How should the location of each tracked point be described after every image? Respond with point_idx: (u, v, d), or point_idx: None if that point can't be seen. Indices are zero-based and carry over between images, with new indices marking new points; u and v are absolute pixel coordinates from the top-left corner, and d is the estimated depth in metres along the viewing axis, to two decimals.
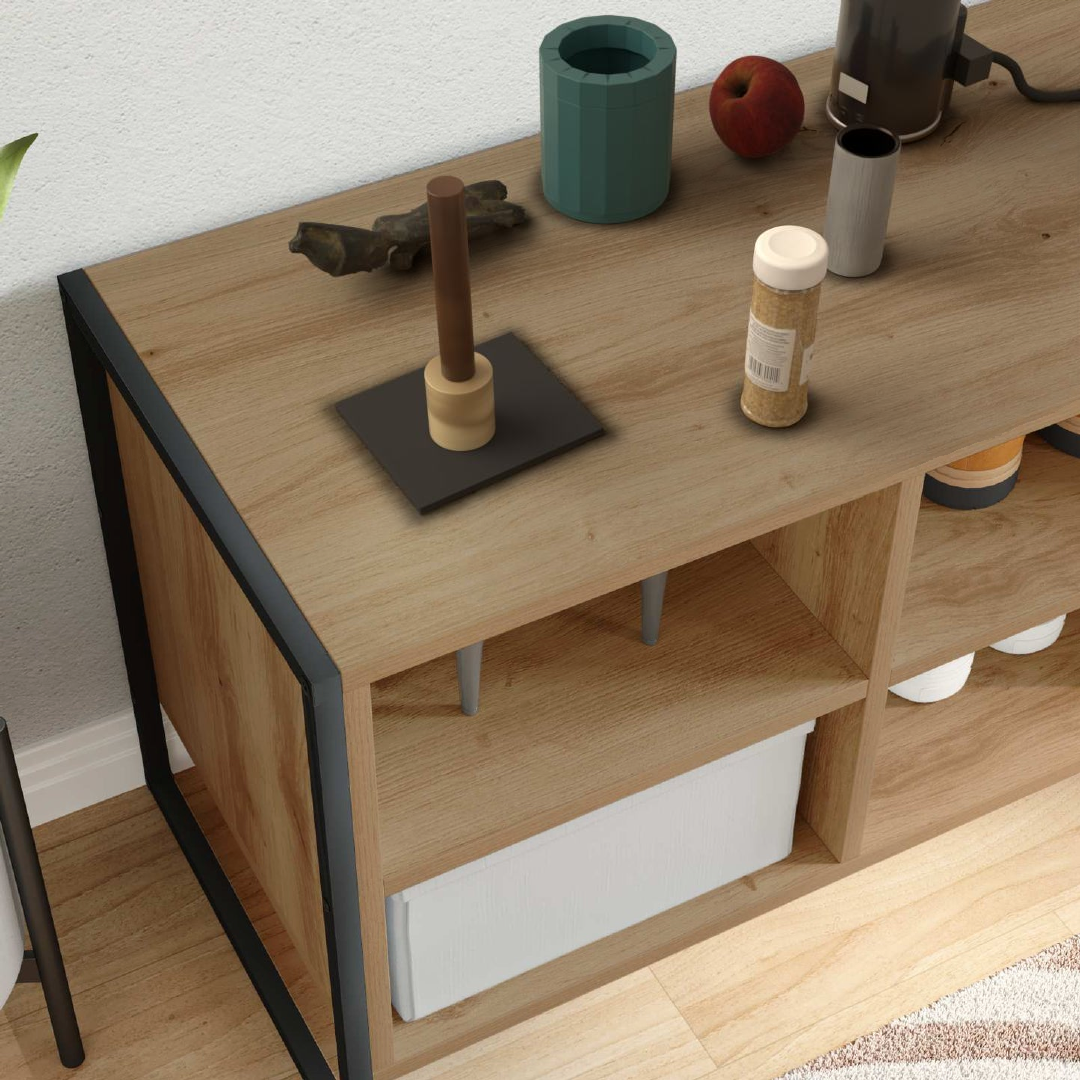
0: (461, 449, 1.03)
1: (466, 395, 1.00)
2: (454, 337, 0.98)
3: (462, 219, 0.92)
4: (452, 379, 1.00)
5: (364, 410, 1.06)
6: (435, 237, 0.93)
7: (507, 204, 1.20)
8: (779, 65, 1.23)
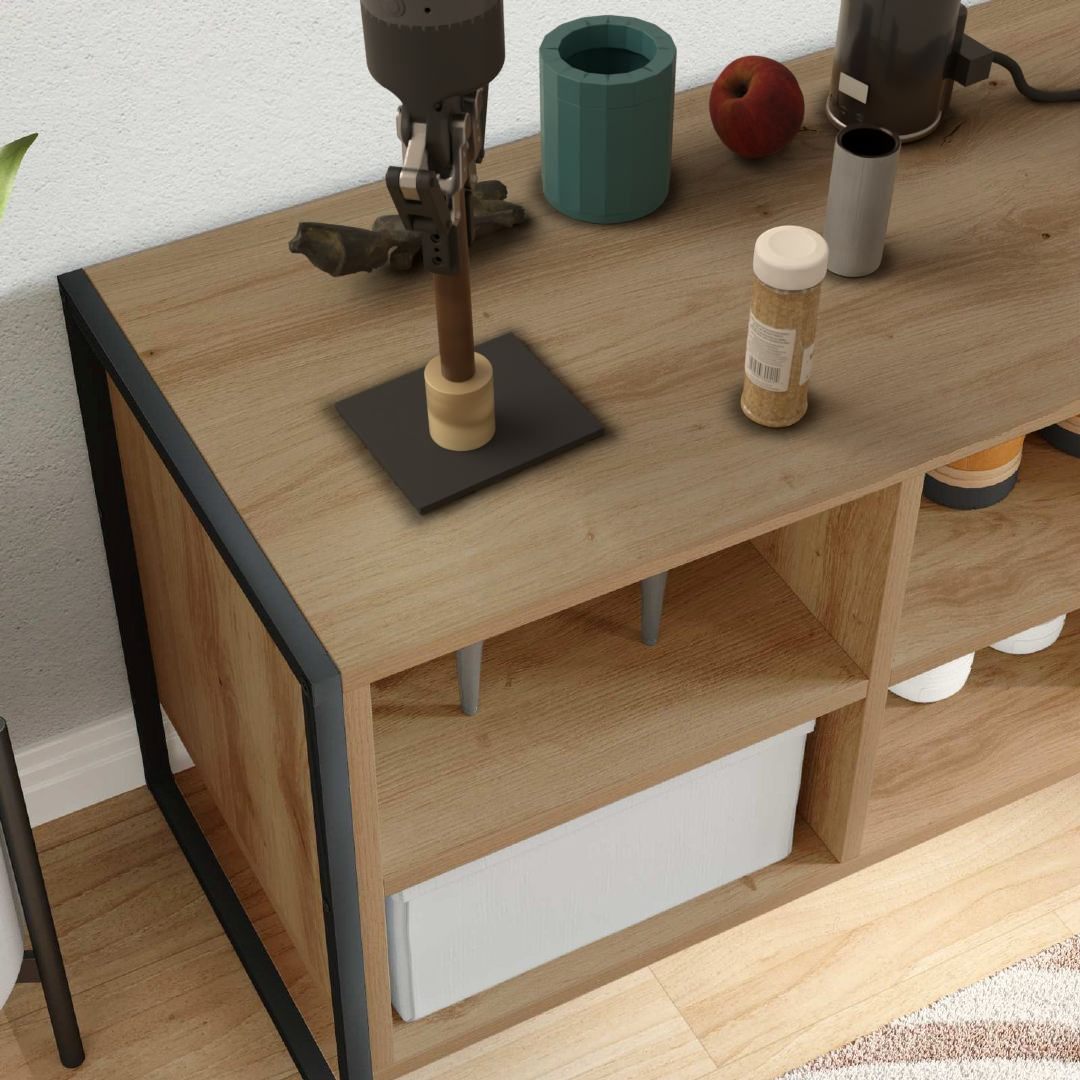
0: (461, 449, 1.03)
1: (466, 395, 1.00)
2: (454, 337, 0.98)
3: (462, 219, 0.92)
4: (452, 379, 1.00)
5: (364, 410, 1.06)
6: None
7: (507, 204, 1.20)
8: (779, 65, 1.23)
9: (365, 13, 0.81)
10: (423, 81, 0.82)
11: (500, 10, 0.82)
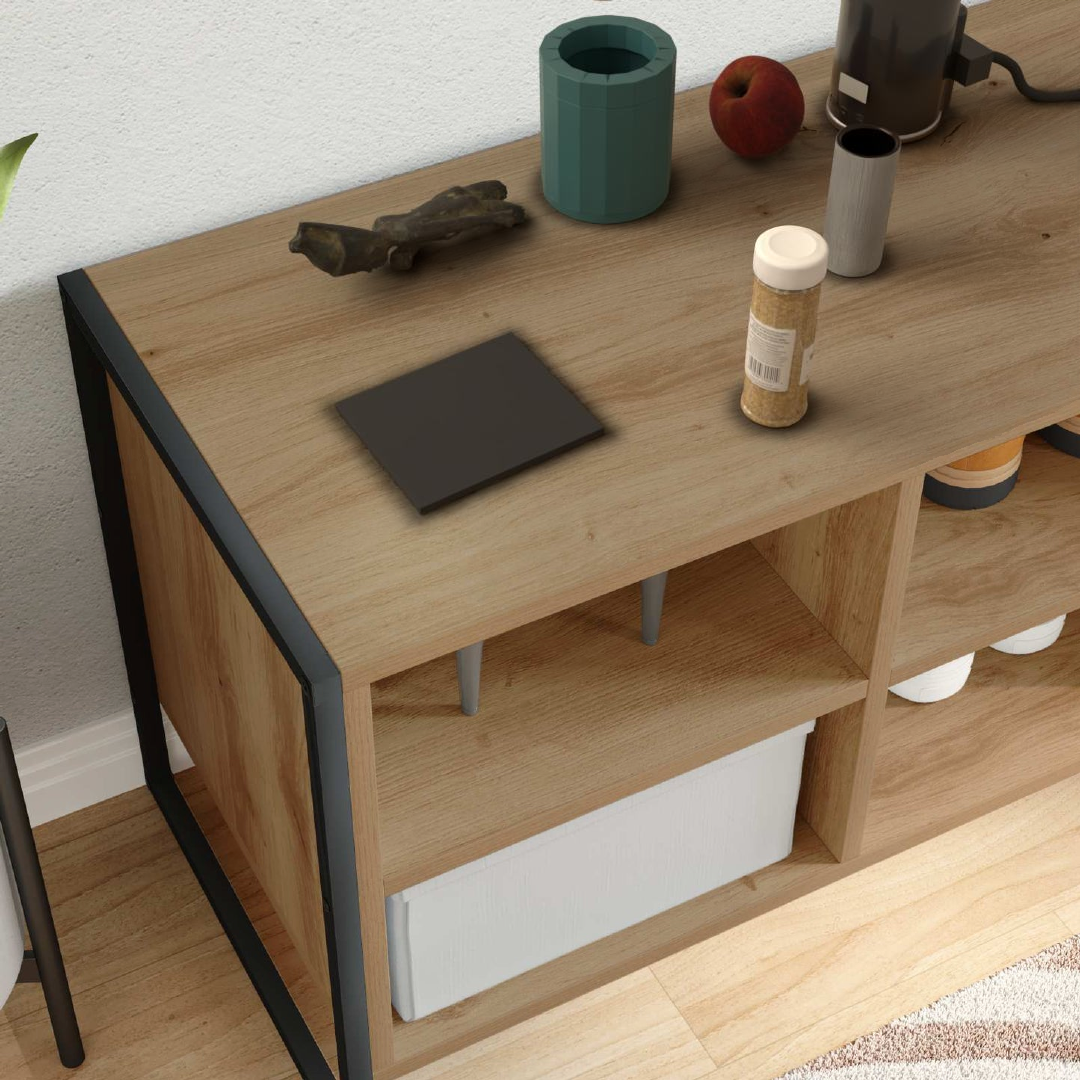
0: None
1: None
2: None
3: None
4: None
5: (364, 410, 1.06)
6: None
7: (507, 204, 1.20)
8: (779, 65, 1.23)
9: None
10: None
11: None
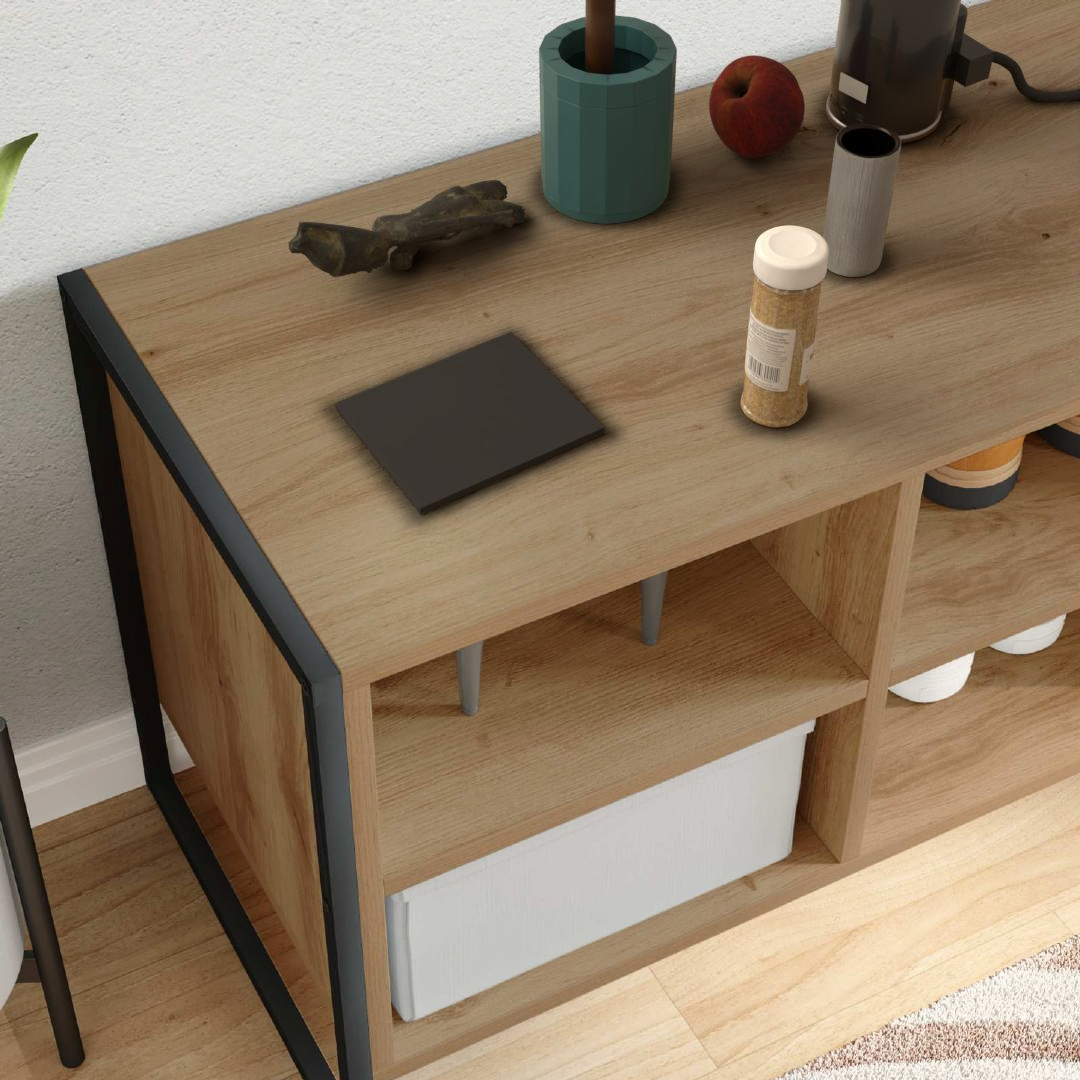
0: None
1: None
2: (600, 50, 1.16)
3: None
4: None
5: (364, 410, 1.06)
6: None
7: (507, 204, 1.20)
8: (779, 65, 1.23)
9: None
10: None
11: None
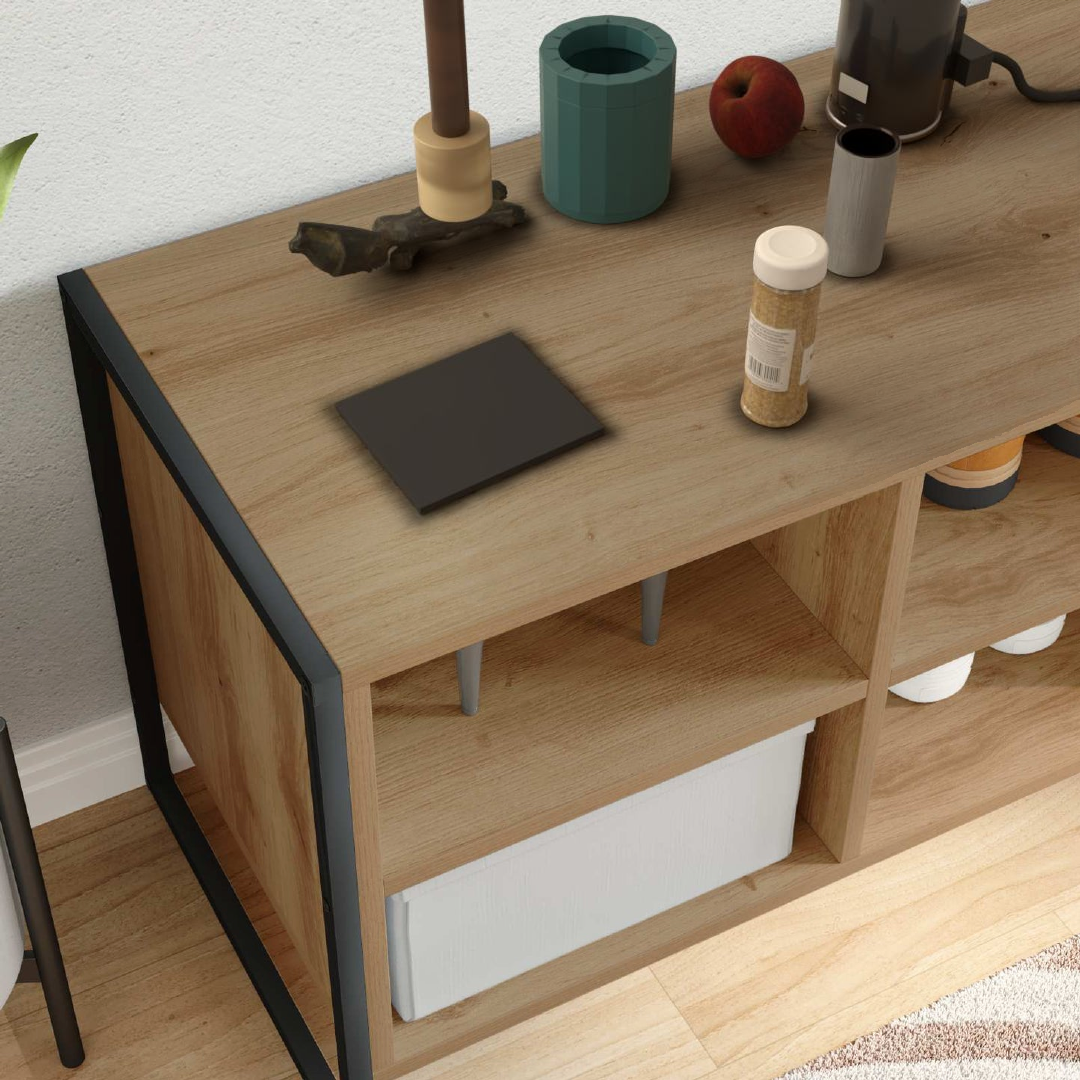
0: (454, 219, 0.93)
1: (460, 150, 0.89)
2: (447, 80, 0.87)
3: None
4: (444, 134, 0.90)
5: (364, 410, 1.06)
6: None
7: (507, 204, 1.20)
8: (779, 65, 1.23)
9: None
10: None
11: None
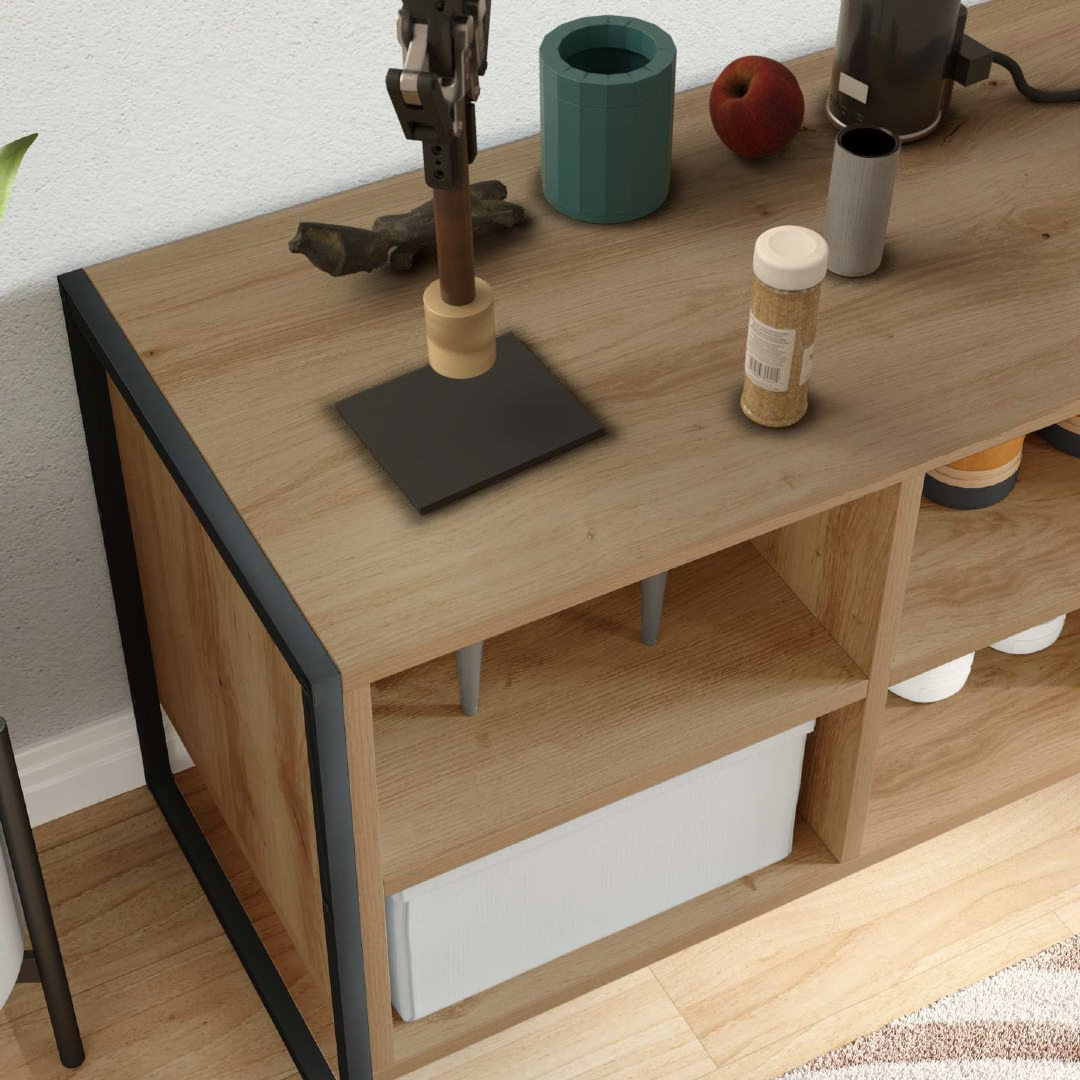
0: (461, 377, 1.00)
1: (466, 318, 0.97)
2: (454, 257, 0.95)
3: (463, 130, 0.89)
4: (452, 303, 0.98)
5: (364, 410, 1.06)
6: None
7: (507, 204, 1.20)
8: (779, 65, 1.23)
9: None
10: None
11: None
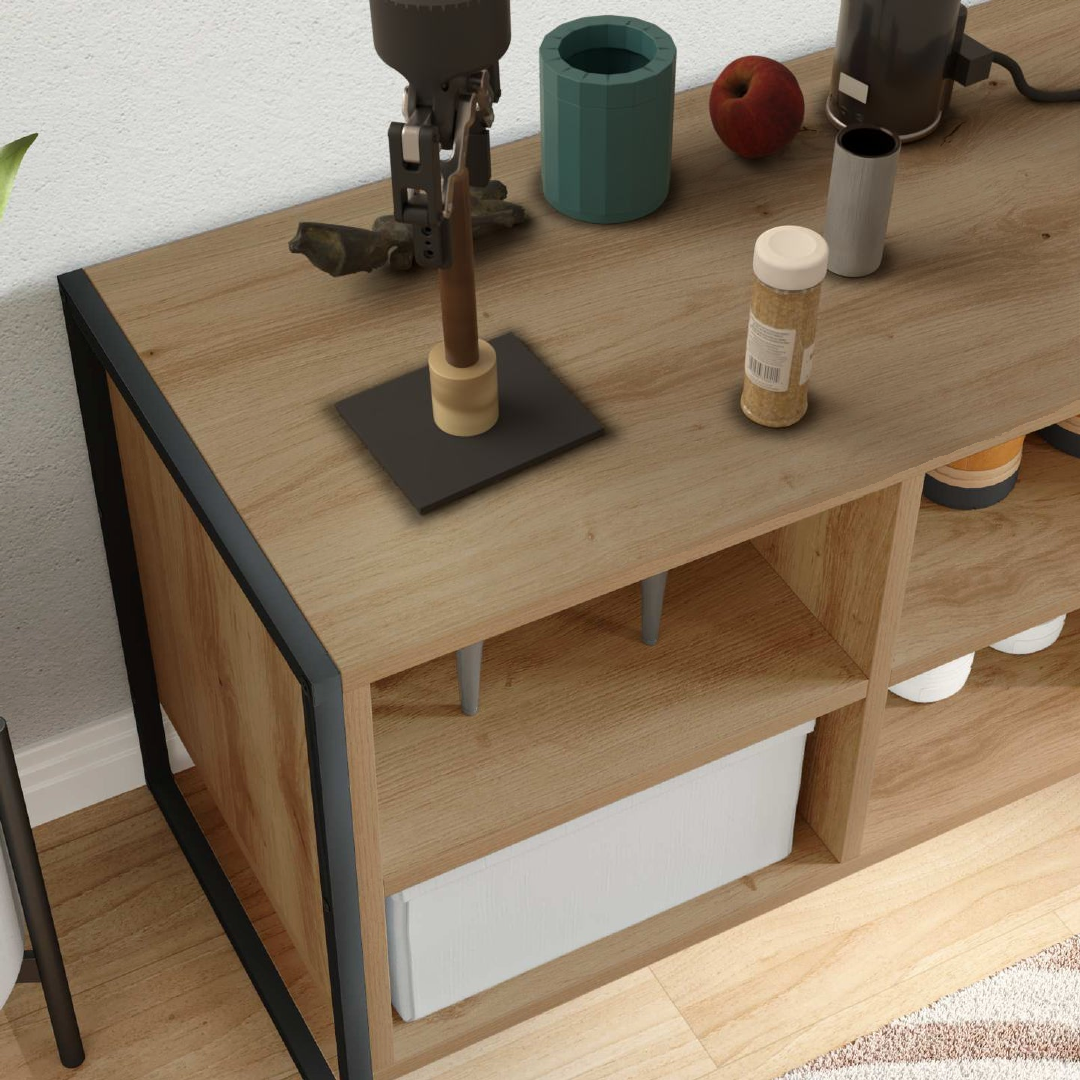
0: (465, 434, 1.04)
1: (470, 380, 1.01)
2: (458, 323, 0.99)
3: (467, 205, 0.93)
4: (456, 365, 1.01)
5: (364, 410, 1.06)
6: None
7: (507, 204, 1.20)
8: (779, 65, 1.23)
9: None
10: (429, 61, 0.83)
11: None
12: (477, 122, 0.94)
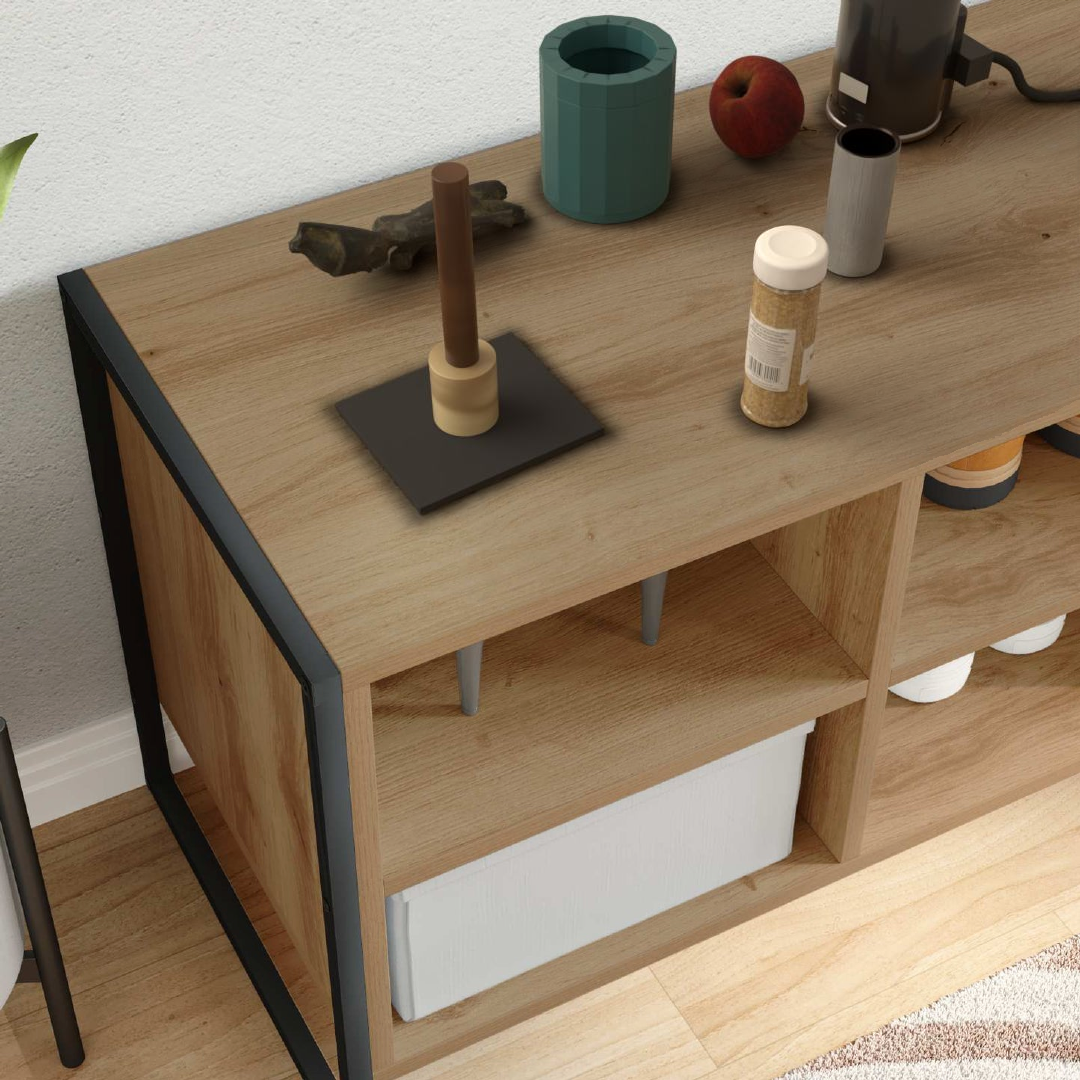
0: (465, 434, 1.04)
1: (470, 380, 1.01)
2: (458, 323, 0.99)
3: (467, 205, 0.93)
4: (456, 365, 1.01)
5: (364, 410, 1.06)
6: (440, 223, 0.93)
7: (507, 204, 1.20)
8: (779, 65, 1.23)
9: None
10: None
11: None
12: None
